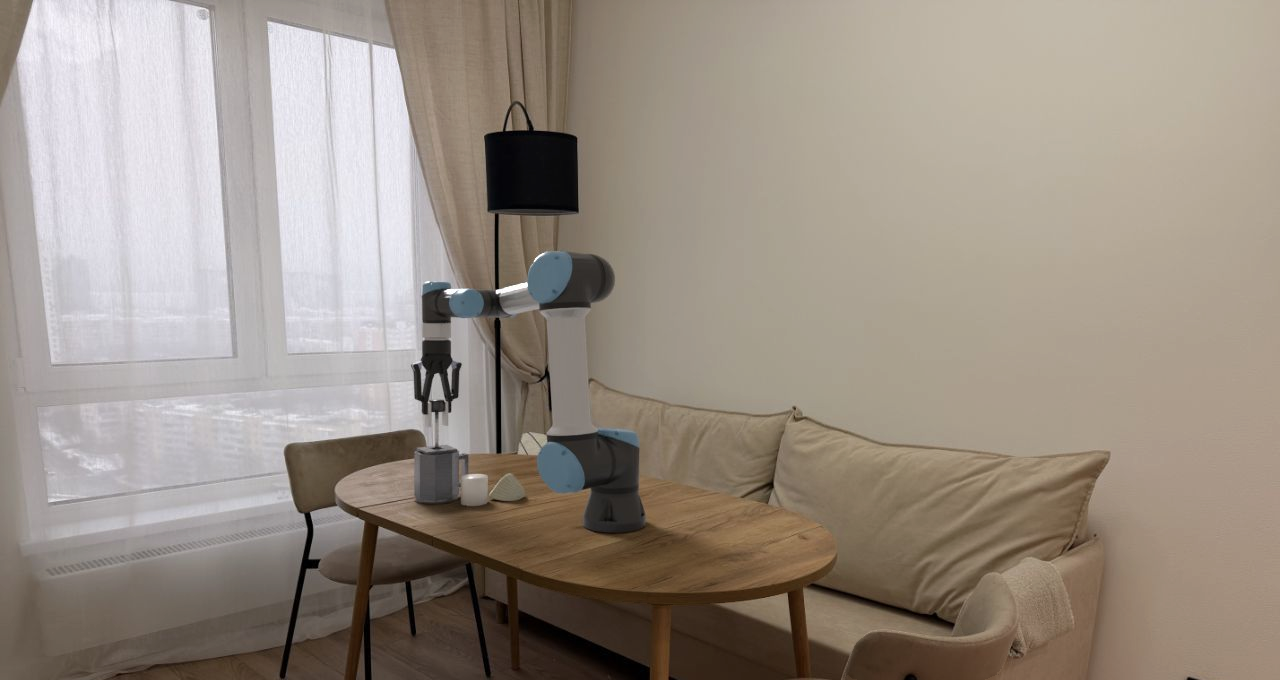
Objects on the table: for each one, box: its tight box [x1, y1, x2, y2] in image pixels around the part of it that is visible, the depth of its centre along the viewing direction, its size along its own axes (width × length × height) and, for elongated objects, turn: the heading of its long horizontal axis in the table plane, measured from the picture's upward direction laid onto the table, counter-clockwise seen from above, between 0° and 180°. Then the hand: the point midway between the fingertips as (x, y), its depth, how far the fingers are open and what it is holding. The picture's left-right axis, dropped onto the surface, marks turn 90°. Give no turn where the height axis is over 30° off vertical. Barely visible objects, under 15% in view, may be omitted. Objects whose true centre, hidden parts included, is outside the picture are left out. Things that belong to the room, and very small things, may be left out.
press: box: [413, 444, 469, 505], centre depth 208 cm, size 11×14×14 cm
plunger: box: [428, 398, 445, 455], centre depth 207 cm, size 8×8×19 cm
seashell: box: [488, 473, 526, 502], centre depth 209 cm, size 8×8×8 cm
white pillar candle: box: [460, 473, 489, 507], centre depth 204 cm, size 7×7×7 cm
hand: (436, 425), depth 207 cm, fingers closed on plunger, 4 cm apart
